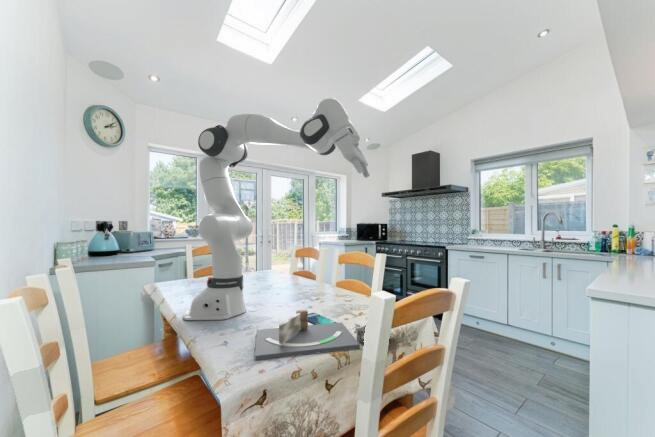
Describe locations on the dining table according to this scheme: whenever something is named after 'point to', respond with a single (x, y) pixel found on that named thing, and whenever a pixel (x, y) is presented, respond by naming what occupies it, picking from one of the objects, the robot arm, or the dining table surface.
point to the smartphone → (318, 319)
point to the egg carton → (360, 333)
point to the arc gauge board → (304, 341)
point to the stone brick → (293, 325)
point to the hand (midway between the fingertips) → (364, 174)
